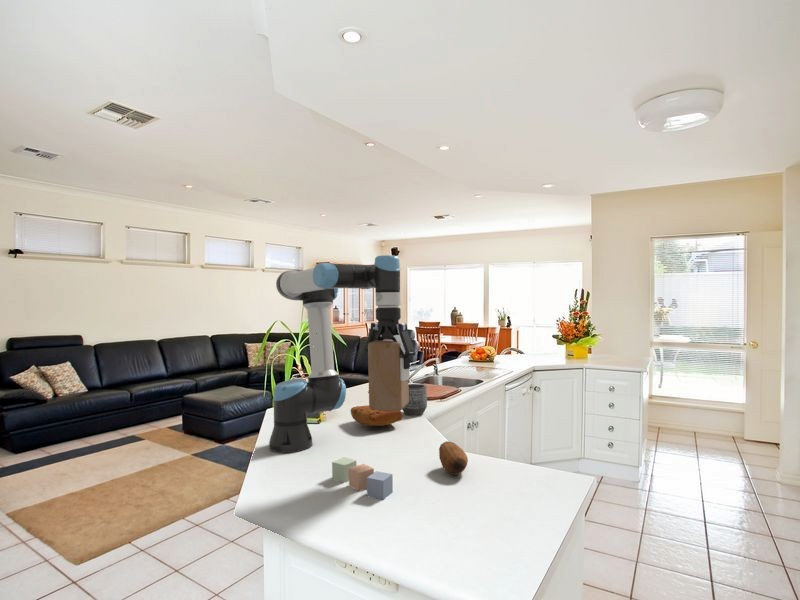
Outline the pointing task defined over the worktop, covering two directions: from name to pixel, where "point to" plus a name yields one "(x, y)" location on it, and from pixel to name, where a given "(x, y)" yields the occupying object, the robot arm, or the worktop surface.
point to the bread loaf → (375, 416)
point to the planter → (416, 400)
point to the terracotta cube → (359, 476)
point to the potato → (452, 458)
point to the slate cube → (379, 485)
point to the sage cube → (342, 469)
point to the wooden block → (386, 377)
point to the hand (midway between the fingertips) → (389, 377)
